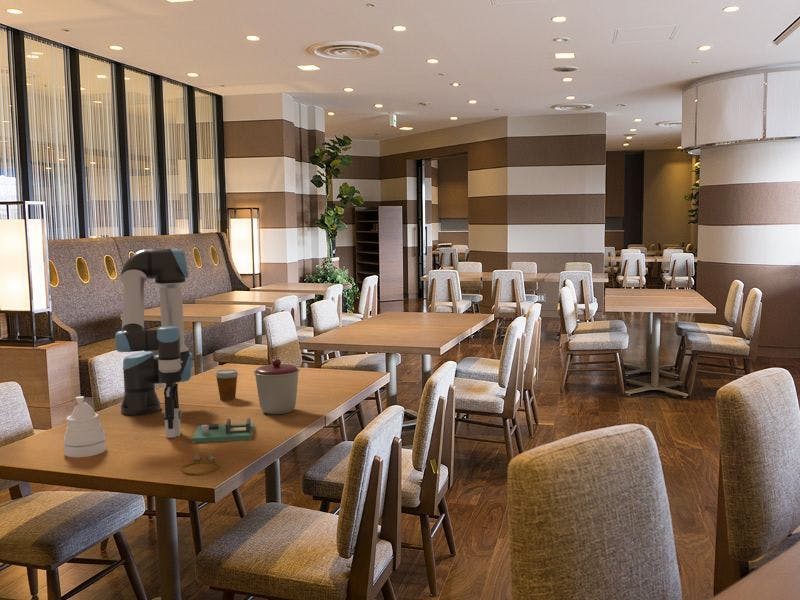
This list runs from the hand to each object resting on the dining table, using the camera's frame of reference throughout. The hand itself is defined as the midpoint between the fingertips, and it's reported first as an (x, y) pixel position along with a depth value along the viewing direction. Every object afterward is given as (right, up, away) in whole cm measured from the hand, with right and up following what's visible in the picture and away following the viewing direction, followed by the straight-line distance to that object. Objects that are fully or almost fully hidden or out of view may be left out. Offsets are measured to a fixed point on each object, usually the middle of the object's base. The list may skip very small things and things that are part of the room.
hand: (173, 434), depth 262 cm
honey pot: (-24, -3, -17) cm, 29 cm away
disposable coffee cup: (+7, +5, +52) cm, 53 cm away
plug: (0, 0, 0) cm, 0 cm away
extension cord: (+20, -4, -34) cm, 40 cm away
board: (+18, 0, -1) cm, 18 cm away
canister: (+32, +3, +30) cm, 44 cm away
